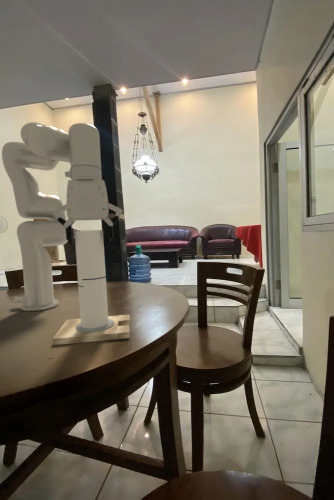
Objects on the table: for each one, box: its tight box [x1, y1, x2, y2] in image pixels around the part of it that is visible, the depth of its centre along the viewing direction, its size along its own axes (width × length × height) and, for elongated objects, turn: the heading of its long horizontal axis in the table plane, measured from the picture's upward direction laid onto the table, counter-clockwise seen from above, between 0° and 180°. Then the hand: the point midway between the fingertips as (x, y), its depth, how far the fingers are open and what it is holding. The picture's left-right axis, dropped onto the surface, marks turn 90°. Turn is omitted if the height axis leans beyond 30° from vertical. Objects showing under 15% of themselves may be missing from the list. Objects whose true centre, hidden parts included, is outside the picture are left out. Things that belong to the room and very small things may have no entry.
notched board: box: [52, 314, 131, 346], centre depth 70 cm, size 18×14×2 cm
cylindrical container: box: [74, 229, 109, 329], centre depth 69 cm, size 7×7×25 cm
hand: (90, 242), depth 68 cm, fingers open, 9 cm apart
